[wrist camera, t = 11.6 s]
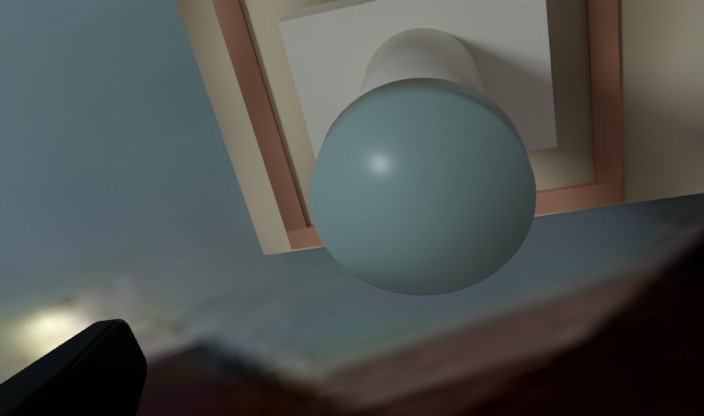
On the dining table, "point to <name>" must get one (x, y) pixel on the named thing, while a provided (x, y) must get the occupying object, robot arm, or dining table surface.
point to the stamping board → (547, 164)
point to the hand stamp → (423, 133)
